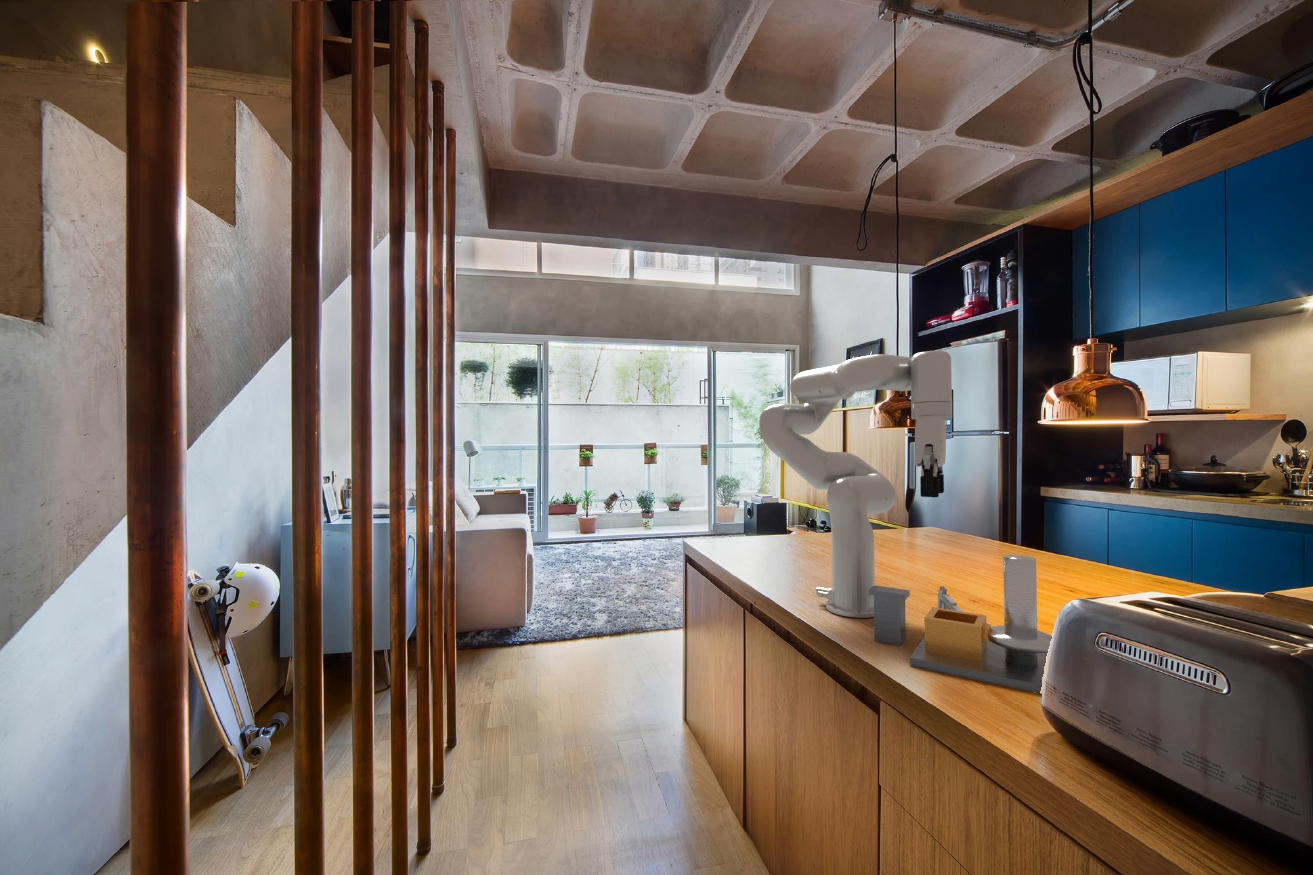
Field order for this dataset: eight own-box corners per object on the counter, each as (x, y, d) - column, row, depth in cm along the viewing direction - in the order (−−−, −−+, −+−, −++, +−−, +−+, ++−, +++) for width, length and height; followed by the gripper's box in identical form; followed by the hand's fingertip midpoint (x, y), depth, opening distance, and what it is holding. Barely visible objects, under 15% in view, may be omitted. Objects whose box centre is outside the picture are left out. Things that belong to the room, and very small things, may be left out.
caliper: (937, 611, 129) (936, 584, 129) (942, 611, 129) (941, 584, 129) (983, 642, 109) (982, 611, 109) (989, 642, 109) (988, 611, 109)
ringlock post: (910, 666, 97) (908, 556, 97) (929, 636, 112) (928, 540, 112) (1056, 697, 85) (1054, 571, 85) (1057, 660, 99) (1055, 552, 99)
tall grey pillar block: (869, 640, 110) (868, 589, 110) (875, 634, 113) (874, 585, 113) (906, 647, 106) (905, 594, 106) (910, 641, 109) (909, 590, 109)
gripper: (917, 414, 122) (918, 490, 122) (904, 410, 108) (906, 497, 108) (955, 412, 118) (956, 492, 118) (947, 409, 104) (949, 499, 103)
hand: (932, 494), depth 113 cm, fingers open, 9 cm apart
